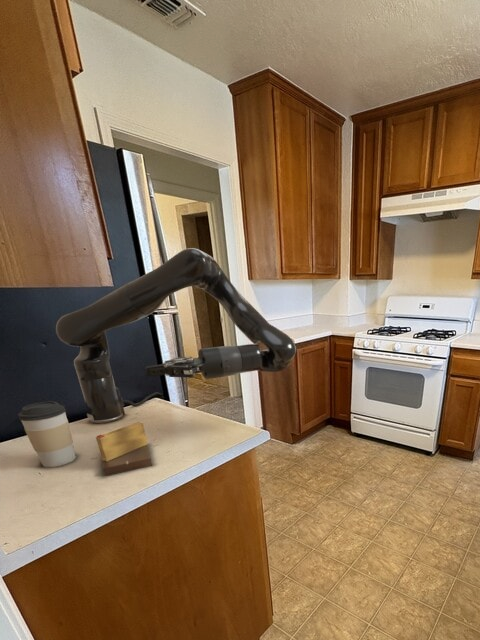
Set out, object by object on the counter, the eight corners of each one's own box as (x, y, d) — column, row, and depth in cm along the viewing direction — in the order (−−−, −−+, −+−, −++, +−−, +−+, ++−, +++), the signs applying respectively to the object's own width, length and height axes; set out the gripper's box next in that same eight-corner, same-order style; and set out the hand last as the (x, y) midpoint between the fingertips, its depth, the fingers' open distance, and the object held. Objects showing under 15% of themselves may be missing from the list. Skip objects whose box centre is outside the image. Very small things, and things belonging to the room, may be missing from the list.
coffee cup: (44, 456, 91) (23, 401, 85) (84, 450, 94) (67, 396, 88) (31, 472, 83) (8, 412, 78) (75, 465, 86) (56, 407, 81)
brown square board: (93, 454, 92) (91, 447, 91) (157, 442, 99) (155, 435, 98) (91, 480, 79) (89, 471, 79) (164, 463, 86) (162, 455, 86)
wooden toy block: (143, 443, 93) (138, 421, 91) (147, 444, 92) (142, 422, 90) (102, 460, 84) (95, 436, 82) (106, 461, 83) (99, 437, 81)
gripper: (212, 342, 93) (140, 350, 86) (225, 351, 83) (144, 361, 75) (216, 370, 96) (147, 380, 89) (229, 382, 86) (152, 395, 78)
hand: (146, 371), depth 82 cm, fingers closed
